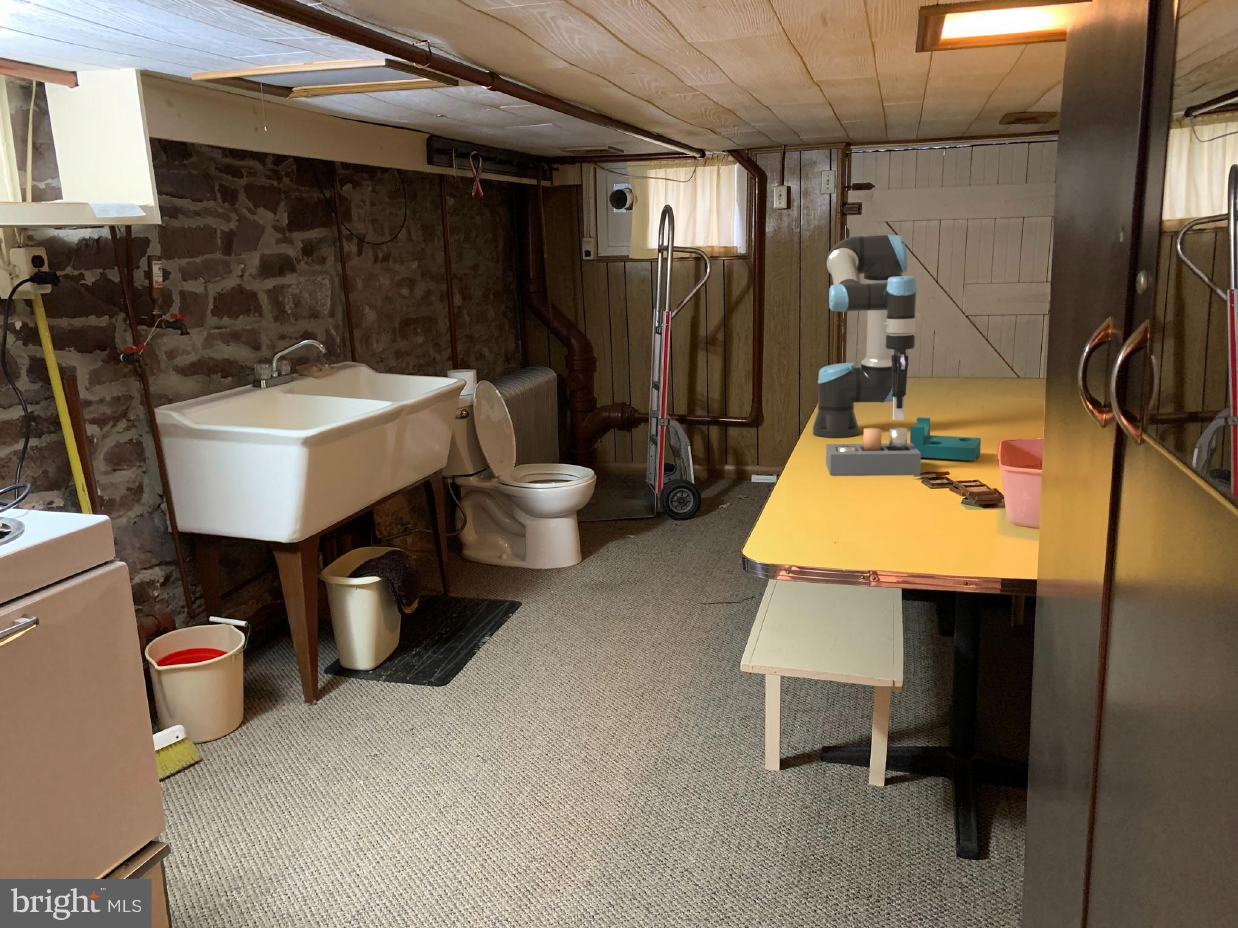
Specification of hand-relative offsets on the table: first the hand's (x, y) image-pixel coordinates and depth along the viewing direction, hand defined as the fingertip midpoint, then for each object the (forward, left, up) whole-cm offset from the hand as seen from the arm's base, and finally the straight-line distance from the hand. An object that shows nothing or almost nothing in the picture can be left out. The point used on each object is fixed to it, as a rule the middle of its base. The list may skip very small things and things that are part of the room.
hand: (898, 419), depth 261 cm
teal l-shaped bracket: (-15, +16, -15) cm, 27 cm away
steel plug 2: (0, 0, -9) cm, 9 cm away
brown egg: (0, -7, -9) cm, 11 cm away
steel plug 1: (0, -14, -14) cm, 20 cm away
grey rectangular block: (0, -7, -14) cm, 16 cm away
